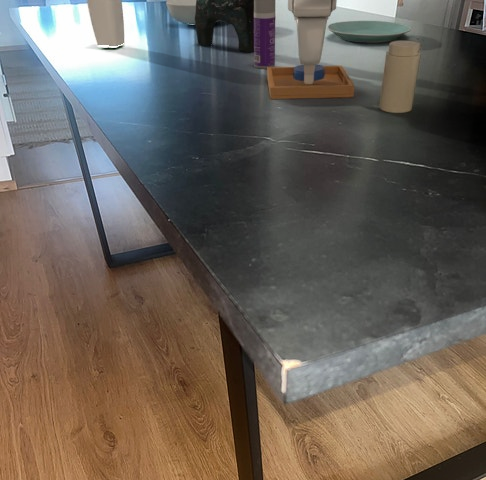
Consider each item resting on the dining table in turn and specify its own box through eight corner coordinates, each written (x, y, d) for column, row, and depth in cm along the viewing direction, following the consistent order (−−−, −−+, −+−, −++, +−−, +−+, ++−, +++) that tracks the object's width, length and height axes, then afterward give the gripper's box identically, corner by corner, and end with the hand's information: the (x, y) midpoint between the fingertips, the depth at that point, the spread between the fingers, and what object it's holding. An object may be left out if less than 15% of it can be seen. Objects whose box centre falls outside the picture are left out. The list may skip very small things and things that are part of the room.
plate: (369, 27, 155) (370, 16, 154) (427, 39, 140) (429, 27, 138) (309, 36, 146) (310, 25, 144) (365, 50, 130) (366, 37, 129)
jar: (407, 102, 95) (417, 39, 89) (415, 112, 90) (426, 46, 84) (376, 103, 95) (384, 40, 89) (382, 113, 90) (391, 47, 84)
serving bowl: (163, 21, 173) (160, -3, 169) (224, 16, 177) (223, -7, 173) (175, 32, 156) (173, 6, 152) (242, 26, 161) (242, 1, 157)
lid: (288, 80, 103) (288, 70, 102) (299, 72, 107) (300, 63, 106) (318, 82, 101) (318, 72, 99) (328, 74, 105) (328, 64, 104)
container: (273, 68, 117) (274, -8, 109) (252, 68, 118) (252, -8, 109) (275, 63, 121) (276, -11, 112) (255, 63, 122) (255, -11, 113)
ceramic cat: (265, 50, 133) (265, -43, 121) (249, 55, 129) (247, -41, 117) (207, 42, 143) (202, -45, 132) (190, 46, 139) (184, -43, 128)
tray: (340, 75, 111) (341, 65, 110) (353, 97, 98) (354, 85, 97) (267, 77, 111) (267, 67, 110) (270, 99, 99) (270, 87, 97)
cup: (92, 49, 139) (81, -15, 130) (106, 44, 144) (96, -19, 135) (117, 50, 137) (107, -15, 128) (130, 45, 142) (121, -19, 134)
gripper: (296, -8, 105) (294, 65, 113) (293, 7, 88) (291, 92, 96) (328, -9, 104) (323, 65, 112) (331, 7, 87) (325, 92, 95)
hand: (308, 78), depth 104 cm, fingers closed on lid, 6 cm apart
